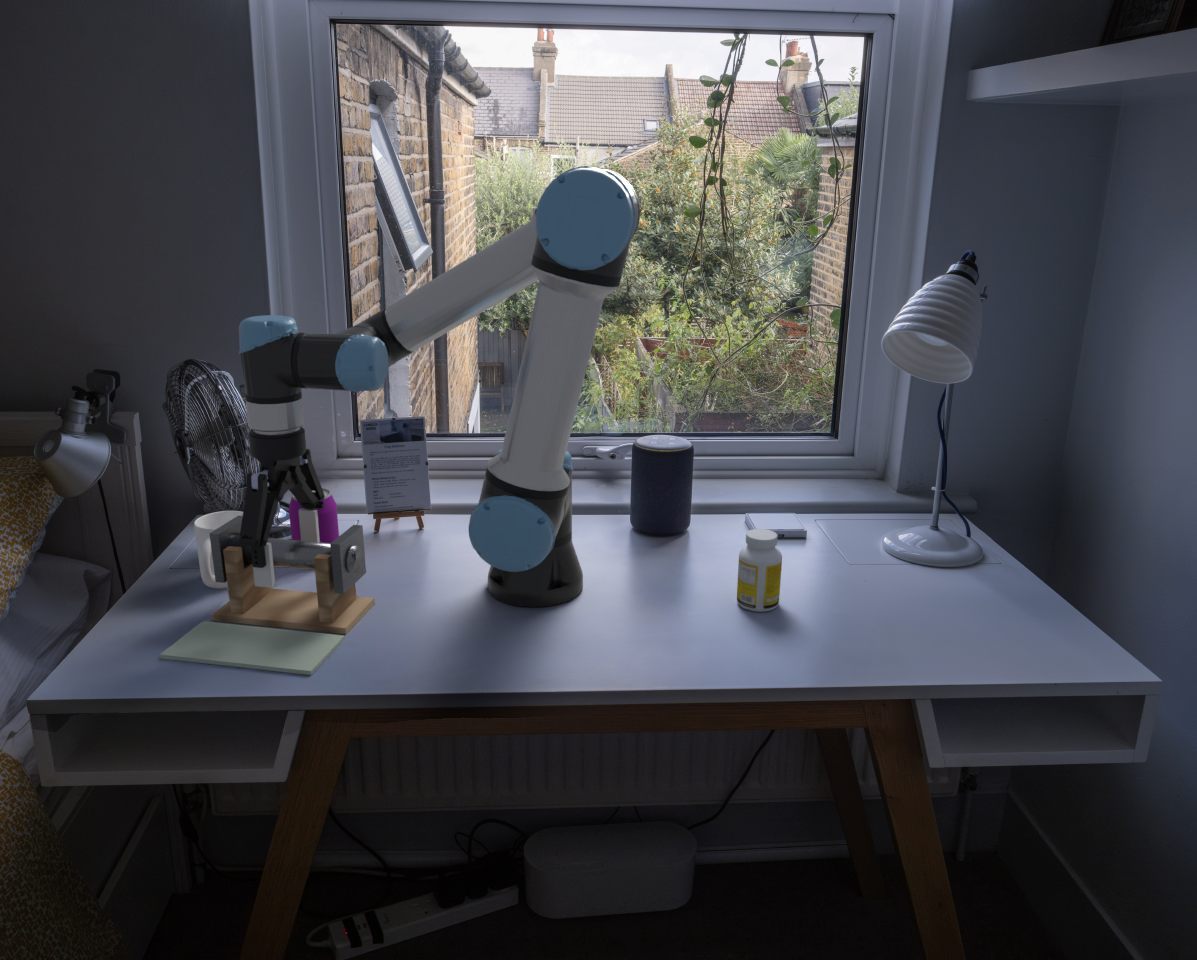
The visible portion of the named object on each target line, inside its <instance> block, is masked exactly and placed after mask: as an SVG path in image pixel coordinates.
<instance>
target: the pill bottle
mask: <svg viewBox="0 0 1197 960" xmlns="http://www.w3.org/2000/svg"><path fill="white" fill-rule="evenodd" d="M745 543H746V545H744V546H743V547H741V549H740V551H739V552H738V553H739V554H738V564H737V565H738V567H737V568H738V569H737V584H736V585H737V586H736V589H737V590H736V601H737V604H738V605H739V606H740V607H741V608H743V609H745V610H748V611H751V612H760V613H762V612H771V611H772V610H775V609H776V608H777V607H778V606H779V603H780V595H781V593H780V592H781V580H782V565H783V564H782V563H783V554H782V552H781V551H780V549H778V548H777V544H778V534H777V533H776V532H775V531H774V530H771V529H767V528H754V529H749V530H748V531H747V532H746V533H745Z"/></svg>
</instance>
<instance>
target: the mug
mask: <svg viewBox="0 0 1197 960" xmlns="http://www.w3.org/2000/svg"><path fill="white" fill-rule="evenodd" d="M238 515H239V516H243V511H241V510H240V511H239V510H238V511H237V510H222V511H216V512H211V513H207V514H205V515H201V516H200V517H198V518H196V519H195V520H194V522H193V527H194V534H195V541H196V542H195V543H196V549H197V557H198V563H199V570H200V571H199V572H200V577H201V581H202V582H203V584H204V585H205V586H207V587H208V588H211V589H217V590H221V589H222V590H226V589H228V584H227V581H226V582H225V583H221V582H216V580H215V573H214V565H213V558H212V550H211V542H210V535H209V533H211V532H213V531H214V530H216V529H217V528H219V527H221V526H222V525H224V524H225V523H227V522H229V521H230V520H232V519H233V518H235V517H237V516H238Z"/></svg>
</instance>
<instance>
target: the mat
mask: <svg viewBox="0 0 1197 960" xmlns="http://www.w3.org/2000/svg"><path fill="white" fill-rule="evenodd" d="M345 640H346V637H345V635H344V634H341V635H340V634H334V633H332V634H331V633H324V632H314V631H312V632H311V631H305V630H295V629H285V628H276V627H266V626H263V627H262V626H256V625H246V624H237V623H227V622H217V621H215V622H214V621H208V620H207V621H204V620H202V621H201V622H200V623H199V624H197V625H196V626H194V627H193V628H192V629H191V630H190V631H188V632H187V633H185V634H184V635H183V636H182V637H180V638H179V639H178V640H177V641H175V642H174V643H173V644H172V645H170V646H169V647H168V648H166V649H164V651H162V652H161V653H160V654H159V658H160V659H161V660H163V659H164V660H173V661H179V662H180V661H182V662H189V663H191V662H192V663H199V664H200V663H202V664H210V665H215V666H216V665H218V666H224V667H225V666H227V667H235V668H236V667H237V668H242V669H243V668H244V669H253V670H254V669H255V670H262V671H263V670H264V671H270V672H271V671H272V672H281V673H289V674H297V675H307V676H312V675H313V674H314V673H315V672H316V671H317V670H318V669H319V668H320V667H321V665H323V663H324V662H326V661H327V660H328V658H329V657H330V656H331V655H332V654H333V653H334V652H335V651H336V649H337V648H338V647H340V646H341V645H342V644H343V642H345Z"/></svg>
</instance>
